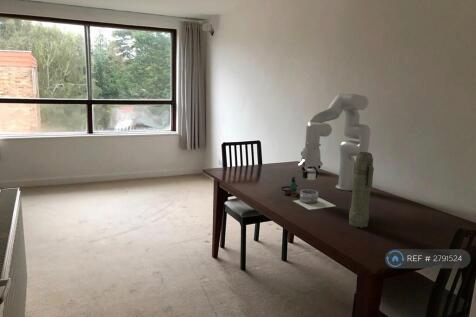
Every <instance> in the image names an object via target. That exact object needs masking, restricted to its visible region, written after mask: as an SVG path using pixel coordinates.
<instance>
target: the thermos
mask: <svg viewBox="0 0 476 317" xmlns="http://www.w3.org/2000/svg"><path fill="white" fill-rule="evenodd" d="M373 157H374V156H373V154H372V153H370V152H369V151H368V152H360V153H358V155H357V156H355V163H354V174H353V180H352V194H351V205H350V209H349V212H348V214H349V215H348V218H349V219H348V225H349V226H351V225H352V226H351V227H353V226H354V228H357V227H360V228H359V229H364V228H363V227H366V228H368V226H369V225H368V224H369V219H370V210H369V208H370V198H371V191H372V188H373V178H374V169H375V168H374V158H373Z"/></svg>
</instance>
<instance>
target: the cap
mask: <svg viewBox="0 0 476 317" xmlns="http://www.w3.org/2000/svg"><path fill="white" fill-rule="evenodd" d="M316 179H317V178H316V170H314V168H311V169H307V179H306V180H307V181H315V180H316Z"/></svg>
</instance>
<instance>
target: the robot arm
mask: <svg viewBox="0 0 476 317" xmlns="http://www.w3.org/2000/svg"><path fill="white" fill-rule="evenodd" d="M368 106H369V100H368V97H367V96H365V95H361V94H356V93H339V94H337V95H335V97H334V98H333V99H332V101H331V102H330V104H329V105H328V106H327V107H326V108H324V109H323V110H321V111H319V112H316V113H315V114H314V115H313V116H312V117H311V118H310V119H309V121H308V123H307V124H306V127H305V128H306V131H305V147H304V148H303V149H304V150H302V151H303V153H302V155H301V161H300V162H301V163H300V162H299V163H298V167H299V168H300V169H301V170H302V171H303V172H302V178H303V179H305V180H307V169H308V167H314V168H313V169H314V170H316V178H315V179H317V178H318V175H319V174H318V172H319V171H320V168H322V167H323V165H324V163H323V162H322V160H321V149H320V147H321V146H322V145H321V143H320V141H321V137H324V138H325V137H329V136H330V135H331V133H332V132H333V131H332V130H333V128H332V126H331V125H330V124H329V123H326V122H330V121H333V120H337V119H339V118H340V116H341V115H342V114H343V112H344V114H345V120H344V130H343V134H344V137H345V138H347V139H345V140H342V141H341V142H340V144H339V153H340V161H339V170H338V181H337V182H338V184H337V183H336V185H335V188H336V189H338V190H341V191H346V192H347V191H348V192H350V191H352V192H353V190H352V180H353V174H354V163H355V162H356V158H355V157H357V155H358V153H360V152H368V153H369V147H370V140H371V139H370V138H371V128H370V126H369V125H367V124H364V123H360V119H361V118H360V112H359V111H364V110H365V109H367V108H368ZM351 139H355V140H351ZM356 140H359V141H356ZM302 165H303V166H302Z"/></svg>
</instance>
